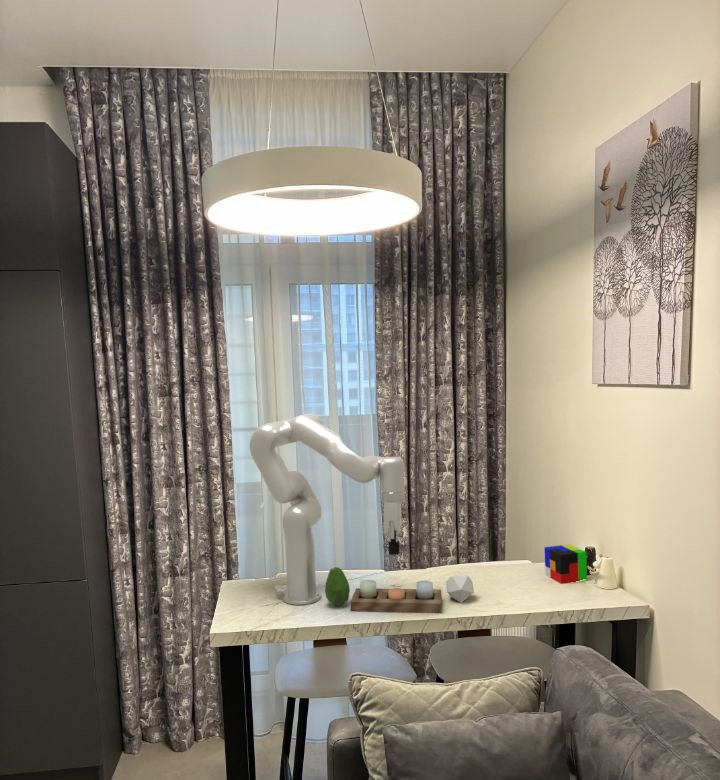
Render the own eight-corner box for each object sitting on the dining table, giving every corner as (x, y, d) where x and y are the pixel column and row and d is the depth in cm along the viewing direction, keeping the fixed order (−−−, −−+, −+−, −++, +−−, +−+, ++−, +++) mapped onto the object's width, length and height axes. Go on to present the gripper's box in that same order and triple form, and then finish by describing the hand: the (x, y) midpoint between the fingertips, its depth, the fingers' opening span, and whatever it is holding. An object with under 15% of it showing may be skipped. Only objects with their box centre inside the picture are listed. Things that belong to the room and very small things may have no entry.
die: (480, 603, 188) (477, 572, 194) (464, 596, 183) (462, 564, 189) (457, 608, 193) (455, 577, 199) (441, 601, 188) (440, 570, 194)
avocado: (334, 598, 195) (333, 562, 195) (354, 602, 191) (353, 565, 191) (320, 607, 189) (319, 569, 188) (340, 611, 184) (339, 573, 184)
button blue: (416, 598, 184) (415, 586, 184) (417, 592, 190) (416, 580, 190) (433, 599, 184) (432, 586, 184) (433, 593, 189) (433, 580, 189)
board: (350, 611, 184) (350, 601, 184) (356, 597, 196) (356, 588, 196) (441, 613, 180) (440, 603, 180) (441, 598, 192) (441, 589, 192)
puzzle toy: (545, 575, 211) (544, 547, 211) (570, 571, 213) (569, 544, 213) (561, 584, 201) (560, 555, 201) (587, 580, 204) (586, 551, 203)
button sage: (359, 597, 187) (358, 585, 187) (361, 592, 192) (361, 579, 192) (375, 598, 186) (375, 585, 186) (377, 592, 192) (377, 580, 191)
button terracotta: (387, 606, 186) (387, 593, 186) (389, 600, 191) (389, 587, 191) (404, 606, 185) (403, 593, 185) (405, 600, 190) (405, 588, 190)
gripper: (383, 491, 195) (384, 546, 196) (378, 501, 181) (379, 560, 181) (406, 491, 194) (407, 547, 195) (402, 501, 180) (404, 561, 180)
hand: (394, 553), depth 188 cm, fingers closed
